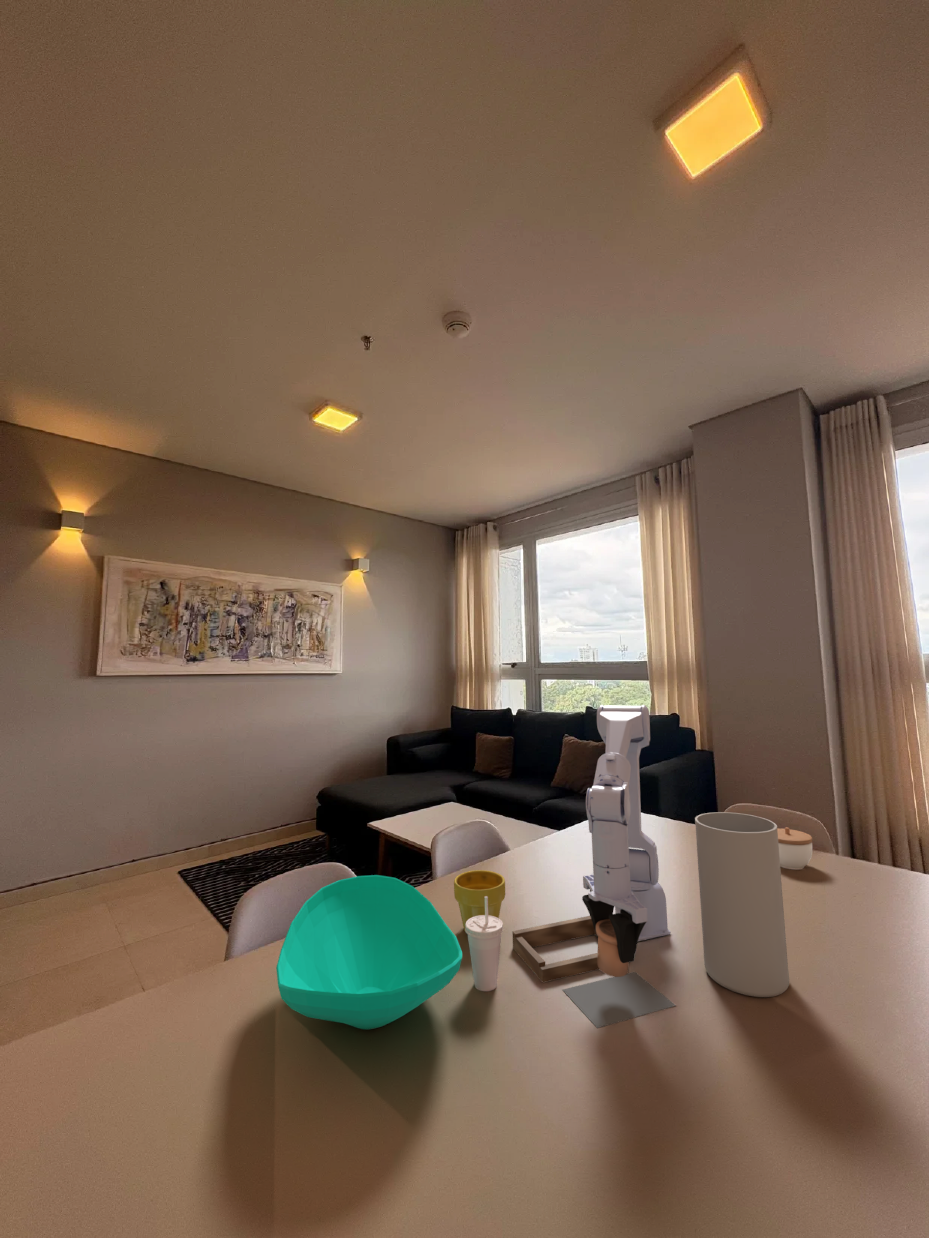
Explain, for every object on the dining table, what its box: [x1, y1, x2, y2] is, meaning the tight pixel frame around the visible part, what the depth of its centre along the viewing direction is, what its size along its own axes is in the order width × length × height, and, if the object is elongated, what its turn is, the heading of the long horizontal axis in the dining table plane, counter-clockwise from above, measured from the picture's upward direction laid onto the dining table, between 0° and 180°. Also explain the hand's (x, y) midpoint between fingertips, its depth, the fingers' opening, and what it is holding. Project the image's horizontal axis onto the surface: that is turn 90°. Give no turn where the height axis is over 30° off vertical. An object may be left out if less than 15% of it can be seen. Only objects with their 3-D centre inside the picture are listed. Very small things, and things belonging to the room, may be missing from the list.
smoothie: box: [464, 896, 504, 992], centre depth 89 cm, size 6×6×14 cm
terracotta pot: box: [596, 919, 630, 977], centre depth 85 cm, size 6×6×6 cm
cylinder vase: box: [694, 811, 790, 998], centre depth 90 cm, size 12×12×25 cm
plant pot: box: [453, 869, 506, 933], centre depth 108 cm, size 10×10×10 cm
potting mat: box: [562, 971, 677, 1029], centre depth 84 cm, size 14×10×1 cm
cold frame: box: [511, 915, 600, 983], centre depth 98 cm, size 18×12×3 cm, turn 109°
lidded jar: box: [777, 826, 813, 871], centre depth 138 cm, size 11×11×9 cm
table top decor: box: [275, 874, 463, 1030], centre depth 83 cm, size 40×28×13 cm
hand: (615, 951), depth 85 cm, fingers closed on terracotta pot, 5 cm apart
